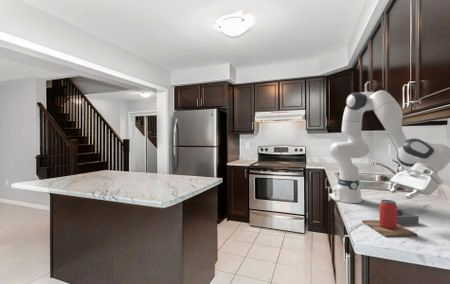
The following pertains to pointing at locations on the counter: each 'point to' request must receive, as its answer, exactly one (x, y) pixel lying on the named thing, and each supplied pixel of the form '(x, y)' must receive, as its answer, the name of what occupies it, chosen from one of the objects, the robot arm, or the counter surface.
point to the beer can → (388, 214)
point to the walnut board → (397, 232)
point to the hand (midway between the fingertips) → (399, 194)
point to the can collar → (406, 217)
